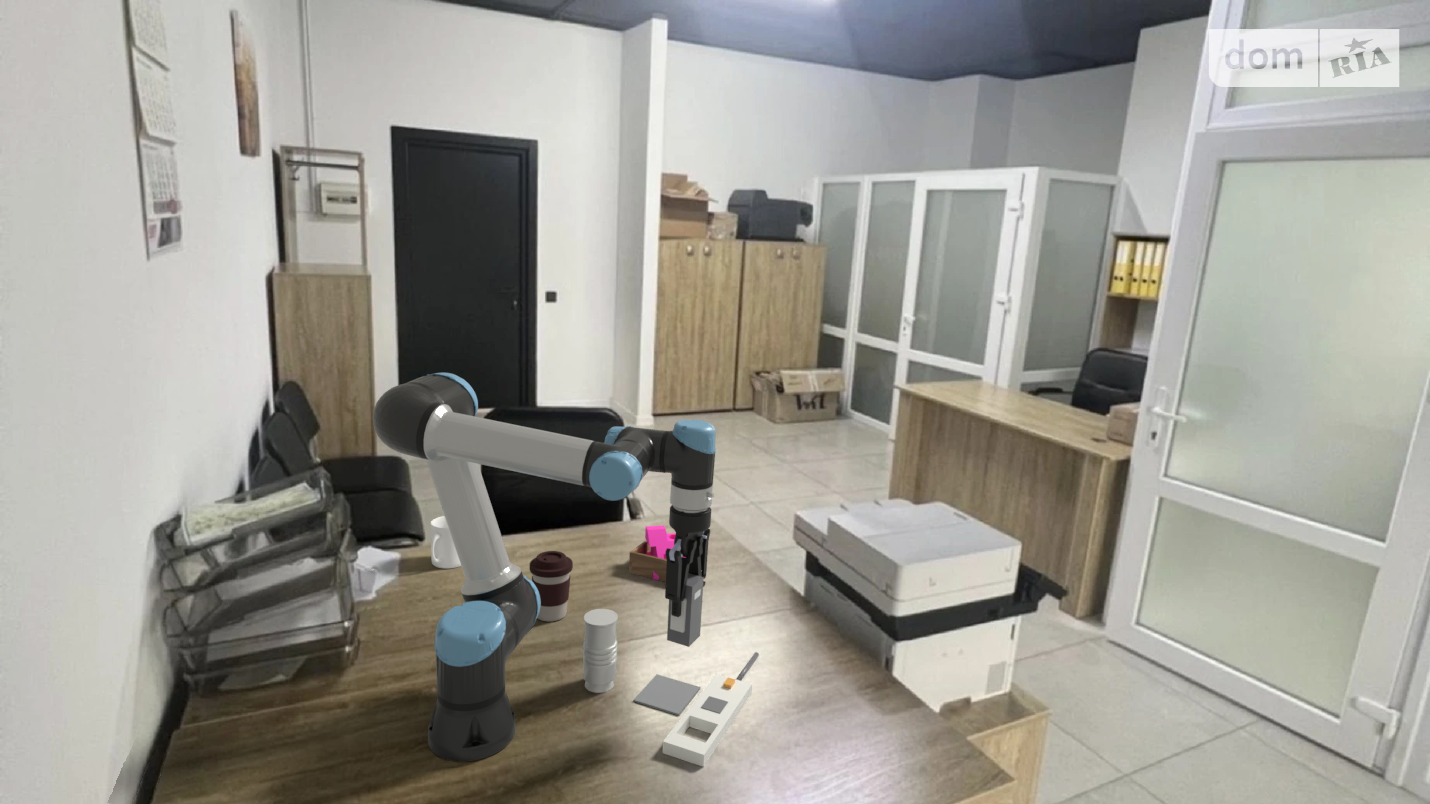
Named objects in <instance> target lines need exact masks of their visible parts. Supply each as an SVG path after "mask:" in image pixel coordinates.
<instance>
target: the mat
mask: <svg viewBox="0 0 1430 804" xmlns="http://www.w3.org/2000/svg"><path fill="white" fill-rule="evenodd" d="M700 690H701V686H698V685H696V684H695V685H694V684H691V683H688V682H684V681H681V680H677V679H675V678H671V677H667V676H665V675H662V674H658V673H657V674H655V676H654V677H653V678H652V679H651V680H650V681H649V682H648V683H647V684H646V686H644V688H643V689H642V690H640V692H639V693H638V694H637V695H636V696H635V698H634V699H633V702H634V703H637V704H640V705H643V706H646V707H650V708H653V709H656V710H659V711H663V712H666V713H669V714H672V715H676V716H679V717H680V716H681V714H682V713H683V712H684V710H685V709H686V708H687V707H688V705H689V704H691V702H692V701H693V699H694V698H695V697H696V695H697V694H698V693H699V692H700Z"/></svg>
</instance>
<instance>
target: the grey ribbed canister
mask: <svg viewBox="0 0 1430 804" xmlns="http://www.w3.org/2000/svg"><path fill="white" fill-rule="evenodd" d="M618 620H619V616H618V613H617V612H615V611H614V610H612V609H607V608H596V609H592V610H589V611H587V612H586V613H584V616H583V622H584V639H583V641H582V663H583V670H582V678H583V680H584V681H585V683H584V687H585V689H586V690H588V691H589V692H592V693H597V694H599V693H600V694H601V693H607V692H608V691H610V690H611V689H613V687H614V685H615V682H614V680H615V679H616V678H617V665H616V664H617V661H618V639H617V622H618Z"/></svg>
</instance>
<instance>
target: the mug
mask: <svg viewBox="0 0 1430 804" xmlns="http://www.w3.org/2000/svg"><path fill="white" fill-rule="evenodd" d="M429 523H430V524H429V526H430V527H429V528H430V555H431V556H430V557H431V564H432V565H433V566H434V567H436V568H439V569H443V570H445V569H446V570H447V569H448V570H449V569H455V568H459V567H462V566H461V563H460V560H459V557H458V554H457V551H456V548H455V545H454V542H453V539H452V536H451V533H450V530H449V527H448V524H447V521H446V518H445V515H441V516H438V517H435V518H433V519H431V520H430V522H429Z"/></svg>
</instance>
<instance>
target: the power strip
mask: <svg viewBox="0 0 1430 804" xmlns="http://www.w3.org/2000/svg"><path fill="white" fill-rule="evenodd" d="M759 656H760V654H759V652H757V651H755V652H754V653H753V655H752V656H751V657H750V659H749V660H748V661H747V663H746V665H745V666H744V667H743V668H742V670H741V671H740V673H739V674H738V675H737V677H736V678H733V677H729V676H726V675H723V674H720V673H719V674H718V673H715V674H714V675H713V676H712V678H711V679H710V680H709V682H708V683H707V684H706V686H705V687H704V688H703V690H702V691H700V693H699V694H698V695H697V697H696V698H695V700H694V701H693V702H692V704H691V705H690V706H689V708H688V709H686V711H685V712H684V714H683V715H682V717H681V718H680V719H679V720H678V721H677V723H676V724H675V725H674V727H672V729H671V731H670V732H669V733H668V735H667V736H666V737H665V738H664V739H663V741H662V754H664V755H666V756H667V755H668V756H670V757H672V758H674V759H675V758H676V759H679V760H682V761H685V762H687V763H691V764H693V765H697V766H699V767H701V768H702V767H703V768H704V767H705V765H706V764H707V762H708V761H709V759H710V758H711V756H712V755H713V753H714V752H715V751H716V749H717V748H718V746H719V744H721V741H722V740H723V738H724V737H725V736H726V734H727V732H728V731H729V729H730V728H731V727H732V725H733V723H734V722H735V720H736V719H737V717H738V716H739V714H740V713H741V711H742V710H741V709H743V708H744V706H745V705H746V704H747V701H748V700H749V698H750V697H751V696H752V691H753V683H750V682H747V681H743V680H742V679H743V678H744V677H745V675H746V674H747V672H748V671H749V670H750V668H751V667H752V665H754V662H756V660H757V659H758V657H759ZM739 712H740V713H739ZM737 715H738V716H737ZM689 728H692V729H695V730H699V731H702V732H705V733H708V734H710V735H709V737H708V739H706V741H705V742H704V741H702V740H699V739H696V738H692V737H689V736H687V735H684V734H685V733H686V732H687V730H688V729H689Z"/></svg>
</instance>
